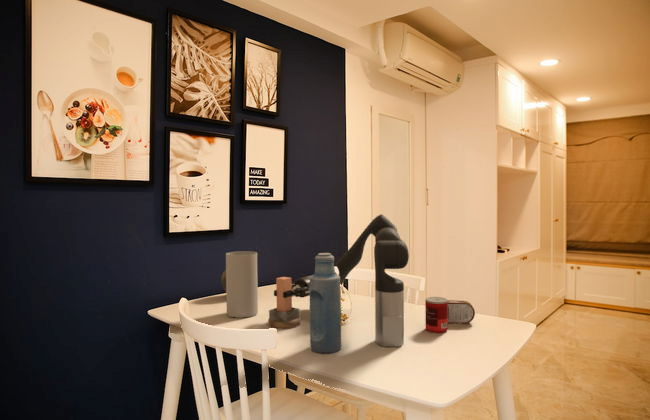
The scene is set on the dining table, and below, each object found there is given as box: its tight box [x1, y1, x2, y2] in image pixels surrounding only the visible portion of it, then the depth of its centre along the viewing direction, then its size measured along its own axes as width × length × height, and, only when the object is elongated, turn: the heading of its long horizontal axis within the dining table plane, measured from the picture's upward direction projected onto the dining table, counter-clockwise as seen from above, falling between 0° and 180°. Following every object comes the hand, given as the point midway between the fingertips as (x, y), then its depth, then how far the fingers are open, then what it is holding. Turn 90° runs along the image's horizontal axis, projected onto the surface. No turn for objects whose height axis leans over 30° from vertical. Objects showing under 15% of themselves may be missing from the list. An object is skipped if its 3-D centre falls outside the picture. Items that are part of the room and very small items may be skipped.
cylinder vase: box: [225, 250, 259, 319], centre depth 172 cm, size 12×12×25 cm
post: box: [275, 276, 293, 312], centre depth 158 cm, size 4×4×14 cm
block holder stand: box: [267, 306, 301, 330], centre depth 158 cm, size 12×12×6 cm
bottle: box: [309, 252, 342, 354], centre depth 132 cm, size 10×10×30 cm
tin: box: [447, 299, 476, 325], centre depth 158 cm, size 15×3×8 cm, turn 84°
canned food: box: [424, 296, 449, 334], centre depth 150 cm, size 8×8×11 cm
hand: (279, 294), depth 156 cm, fingers closed on post, 4 cm apart
